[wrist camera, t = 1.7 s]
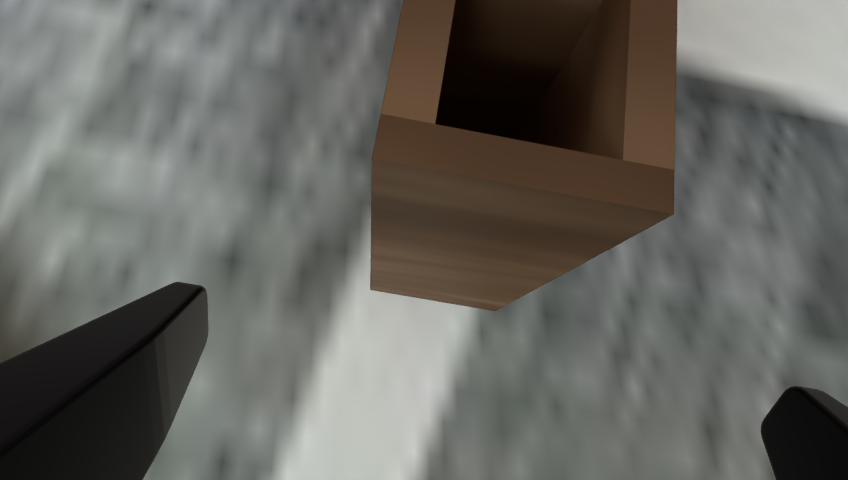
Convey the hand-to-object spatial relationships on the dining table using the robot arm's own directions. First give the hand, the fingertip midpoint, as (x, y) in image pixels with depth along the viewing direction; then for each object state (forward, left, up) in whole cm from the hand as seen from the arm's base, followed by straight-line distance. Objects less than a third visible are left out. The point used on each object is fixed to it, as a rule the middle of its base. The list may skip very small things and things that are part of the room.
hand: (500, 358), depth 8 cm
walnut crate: (+5, -3, -12) cm, 13 cm away
